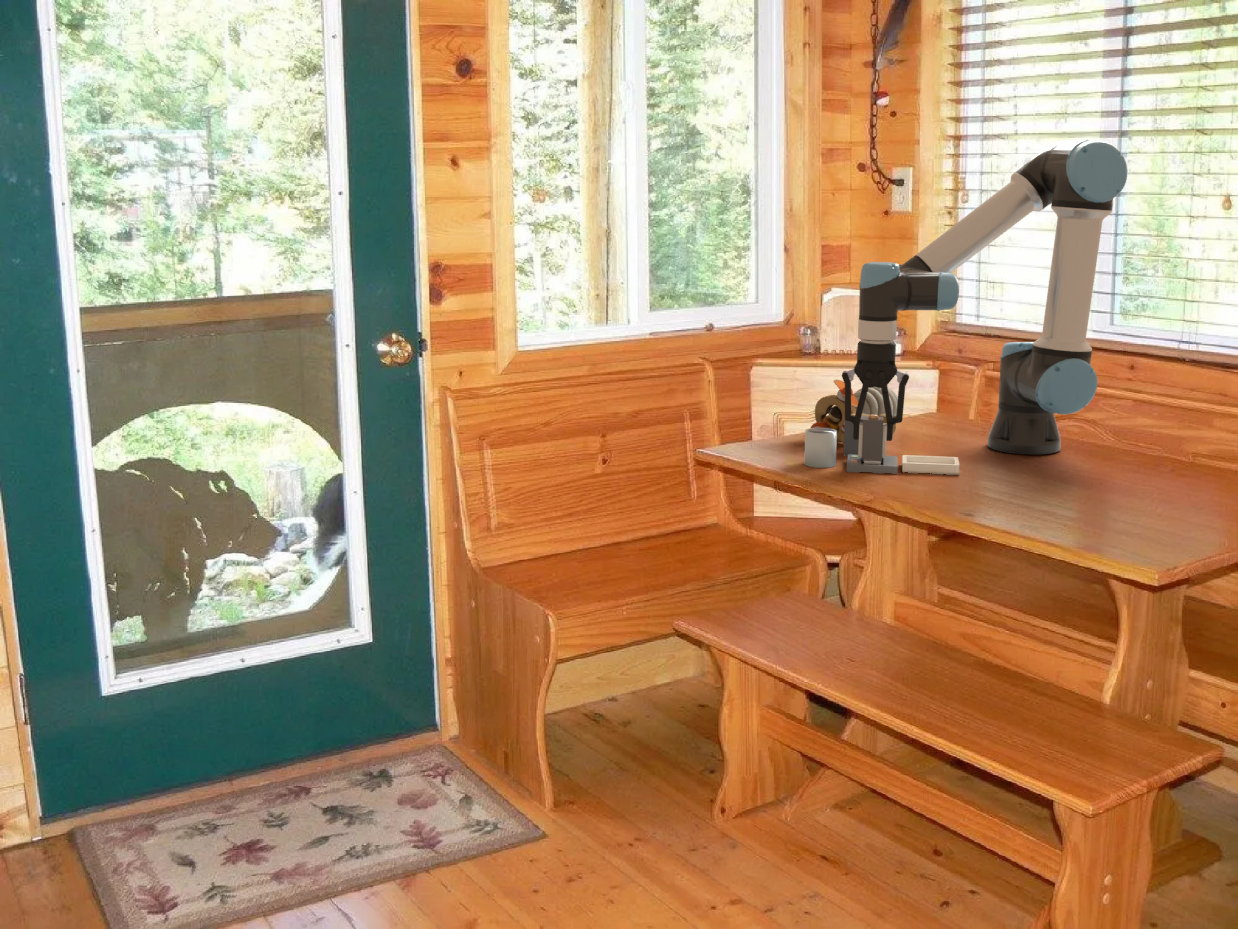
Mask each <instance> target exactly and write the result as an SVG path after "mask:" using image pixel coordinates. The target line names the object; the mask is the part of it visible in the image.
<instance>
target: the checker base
mask: <svg viewBox="0 0 1238 929" xmlns="http://www.w3.org/2000/svg"><path fill="white" fill-rule="evenodd" d="M898 461H899V460H898V455H886V458H882V460H881V463H883V464H881V465H870V464H864V463H861V462H864V459H862V457H858V454H848V456H847V460H846V473H859V472H873V473H872V474H884V473H892V474H891V475H898V470H899V466H898V464H899V463H898Z"/></svg>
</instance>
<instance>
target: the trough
mask: <svg viewBox="0 0 1238 929" xmlns="http://www.w3.org/2000/svg"><path fill="white" fill-rule="evenodd" d="M901 457H902V459H901V467H902V468H901V470H902V472H908V473H907V474H918V473H930V474H929V475H943V474H946V476H947V475H948V476H949V475H950V476H960V461H959V457H958V456H957V457H956V456H941V455H940V456H939V455H938V456H937V455H934V456H933V455H913V454H911V455H910V454H909V455H908V454H903V455H901ZM911 472H913V473H911ZM931 473H932V474H931Z"/></svg>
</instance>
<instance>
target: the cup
mask: <svg viewBox="0 0 1238 929" xmlns="http://www.w3.org/2000/svg"><path fill="white" fill-rule="evenodd" d="M804 432H805V434H804V460H803V463H804V466H807V467H809V468H818V469H819V468H820V469H827V468H828V469H829V468H834V467H836V465H837V447H838V446H837V444H838V443H837V442H838V441H837V431H836V430H834V429H830V428H811V427H810V428H807V429H805V431H804ZM833 466H834V467H833Z"/></svg>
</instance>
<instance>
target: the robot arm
mask: <svg viewBox="0 0 1238 929" xmlns="http://www.w3.org/2000/svg"><path fill="white" fill-rule="evenodd" d="M1128 171H1129V170H1128V164H1127V161H1126V158H1125V156H1124V154H1123V153H1122V152H1121V151H1120V149H1119V148H1118V147H1117V146H1114V144H1111V143H1109V142H1107V141H1102V140H1098V139H1085V140H1084V139H1082V140H1075V139H1074V140H1073V139H1072V140H1071V139H1067V140H1062V141H1059V142H1056V143H1053V144H1051V145H1050V146H1048V147H1045V149H1043V150H1042V151H1041V152H1039V153H1038V154H1037V155H1035V156H1034V157H1032V159H1030V160H1029V161H1027V162H1026V163H1025V164H1024V165H1023V166H1021V167H1020V168H1018V170H1016V171H1015V172H1014V173H1012V174H1011V176H1010V182H1008V183H1007V184H1006V185H1005V186H1004V187H1002V188H1001V189H999V190H998V191H997V192H996V193H994V194H993V195H992V196H990V197H989V198H988V199H986V200H985V201H984V202H982V203H981V204H979V205H978V206H977V207H976V208H975V209H974V210H972V211H971V212H970V213H968V214H967V215H965V217H963V218H962V219H960V220H959V221H958V222H956V223H955V224H954V225H953V226H951V227H950V228H949V229H947V230H946V231H945V232H943V234H941V235H939V236H938V237H937V238H935V239H934V240H933V241H932V242H931V243H929V244H928V245H926V247H924V248H923V249H921V250H920V251H919V252H917V253H916V254H915V255H914V256H913V257H912V256H911V258H909V259H908V260H906V261H905V262H904V263H903V264H899V263H896V262H890V261H889V262H888V261H870V262H866V263H864V264H863V265H862V266H861V270H860V277H859V278H860V279H859V285H858V288H859V303H858V304H859V306H858V308H859V309H858V325H857V326H858V328H857V338H858V339H859V341H858V342H857V350H856V351H857V352H856V364H855V365H854V368H851V369H849V370H843V371H842V373H841V378H842V381H843V382H844V383H845V420H846V421H850V422H852V423H853V425H854V429H853V438H854V440H859V448H858V457H862V439H863V423H860V419H861V416H862V412H863V408H864V404H865V400H866V396H867V392H868V388H872V387H877V388H881V390H882V396H883V402H884V408H885V414H886V420H887V424H884V423H883V446H882V458H886V456H887V442H891V441H892V440H893V435H894V433H893V425H894V424H896V425H897V424H900V423H902V422H903V416H904V406H905V404H904V403H905V394H906V385H907V383H908V382H909V379H910V375H909V374H910V373H908V372H903V371H901V370H898V367H897V365H896V351H897V350H896V348H897V344H896V342H895V340H896V339H897V331H898V330H897V329H898V327H897V326H898V312H899V311H902V312H903V311H937V312H940V311H945V310H946V311H949V310H952V309H954V308H955V307H956V305H957V304H958V300H959V296H960V285H959V284H960V283H959V280H958V278H957V275H956V274H955V273H953V272H954V271H956V270H957V269H958V268H960V267H961V266H963V265H964V264H965V263H966V262H968V261H969V260H970V259H971V258H973V257H974V256H975V255H977V254H978V253H979V252H981V251H983V249H984V248H986V247H987V246H988V245H990V244H991V243H992V242H994V241H995V240H996V239H998V238H999V237H1000V236H1002V235H1003V234H1004V233H1006V232H1007V231H1008V230H1010V229H1011V228H1012V227H1014V226H1015V225H1017V224H1018V223H1019V222H1020V221H1022V220H1023V219H1024V218H1025V217H1027V216H1028V215H1029V214H1031V213H1032V212H1042V211H1043V210H1044V209H1045V208H1048V206H1050V205H1051V206H1050V207H1051V210H1052V211H1053V212H1054V213H1055V215H1056V217H1057V221H1056V227H1055V228H1056V229H1055V234H1054V243H1053V250H1052V257H1051V263H1050V264H1051V265H1050V273H1049V280H1048V287H1047V295H1046V303H1045V310H1044V317H1043V325H1042V330H1041V331H1042V332H1041V336H1040V337H1039V338H1037V339H1036V340H1035V341H1020V342H1019V341H1018V342H1017V341H1015V342H1013V341H1012V342H1006V343H1005V344H1004V345H1003V347H1002V349H1001V353H1000V354H1001V355H1000V358H999V361H1000V367H999V371H1000V372H999V388H998V389H999V390H998V405H997V407H998V408H997V412H996V415H995V418H994V420H993V423H992V426H991V428H990V431H989V433H988V436H987V447H988V448H990V449H991V450H994V451H997V452H1002V453H1008V454H1013V455H1014V454H1015V455H1016V454H1017V455H1033V456H1035V455H1049V454H1053V453H1054V454H1056V453H1058V452H1060V451H1061V445H1062V440H1061V439H1062V438H1061V434H1060V431H1059V428H1058V423H1057V420H1056V416H1055V414H1058V415H1072V414H1075V413H1078V412H1080V411H1081V410H1083V409H1084V408H1085V407H1086V406H1087V405H1089V404H1090V402H1091V401H1092V400H1093V398H1094V397H1095V394H1096V392H1097V388H1098V377H1097V374H1096V371H1095V370H1094V368H1093V366H1092V365H1091V361H1092V355H1093V354H1092V353H1093V348H1092V346H1091V345H1090V343H1089V342H1087V341H1088V340H1087V333H1088V332H1087V331H1088V326H1089V319H1090V311H1091V305H1092V297H1093V290H1094V283H1095V276H1096V268H1097V262H1098V261H1097V260H1098V256H1099V255H1098V254H1099V247H1100V240H1101V233H1102V226H1103V221H1104V219H1105V218H1106V217H1108V216H1109V215H1110V214H1111V213H1113V208H1114V201H1115V198H1116V197H1117V196H1118V195H1120V194H1119V193H1121V192H1122V191H1123V189H1124V188H1125V186H1126V183H1127V180H1128V175H1129V172H1128ZM855 375H856V376H857V378H858V380H859V381H860V382H861V384H862V385H861V388H862V390H861V394H860V397H859V401H858V405H857V409H856V413H855V416H854V415H851V389H852V382H853V381H854V376H855ZM895 376H896V381H897V383H898V393H897V397H898V402H897V414H896V416H895V417H892V411H891V405H890V399H889V393H888V388H889V386H888V385H889V384H890V382H891V381H892V380H893V379H894V378H895Z"/></svg>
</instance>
